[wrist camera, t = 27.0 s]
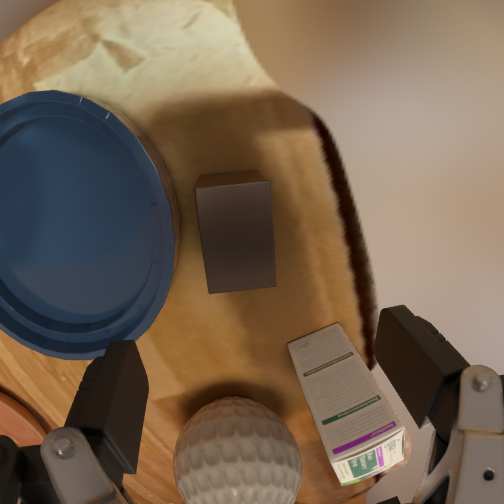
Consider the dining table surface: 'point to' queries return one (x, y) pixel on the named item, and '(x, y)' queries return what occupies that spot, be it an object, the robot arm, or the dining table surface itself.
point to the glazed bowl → (81, 225)
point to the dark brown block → (236, 230)
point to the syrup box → (347, 405)
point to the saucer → (19, 423)
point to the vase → (236, 456)
